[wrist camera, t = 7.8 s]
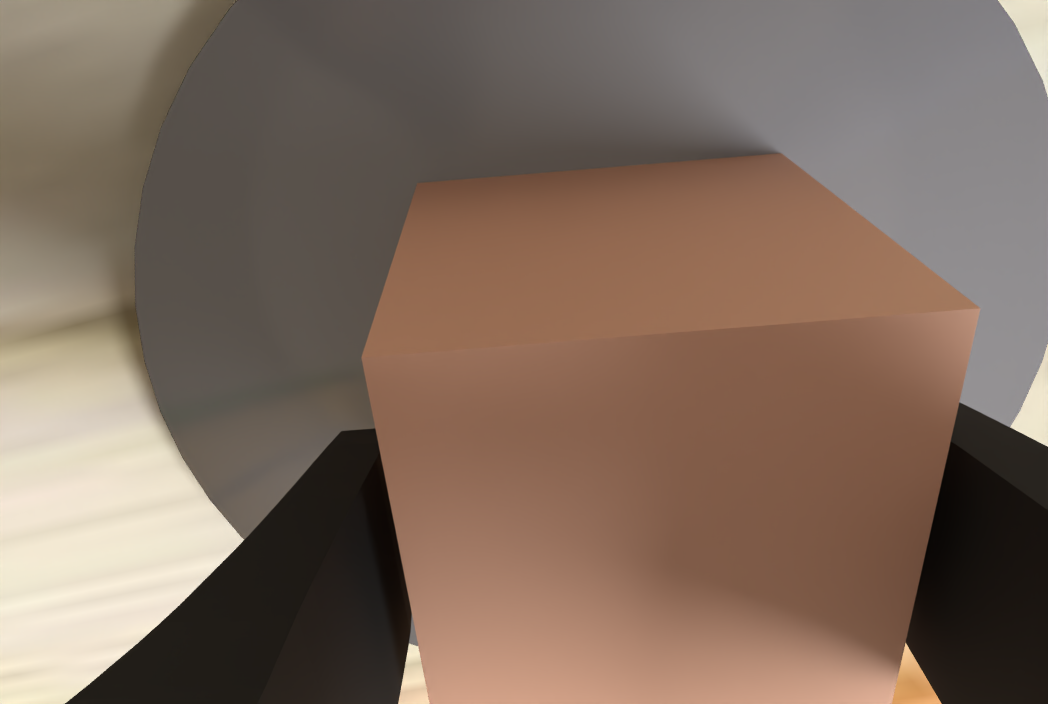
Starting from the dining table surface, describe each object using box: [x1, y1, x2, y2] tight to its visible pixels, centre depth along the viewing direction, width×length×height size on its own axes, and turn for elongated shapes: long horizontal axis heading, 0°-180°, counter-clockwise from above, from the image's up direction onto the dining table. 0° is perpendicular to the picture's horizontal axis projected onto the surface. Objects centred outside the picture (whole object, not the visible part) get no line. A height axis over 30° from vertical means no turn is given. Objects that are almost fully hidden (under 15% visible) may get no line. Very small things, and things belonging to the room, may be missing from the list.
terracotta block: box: [361, 153, 980, 704], centre depth 10 cm, size 5×5×5 cm
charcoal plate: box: [135, 0, 1048, 646], centre depth 12 cm, size 14×14×1 cm
